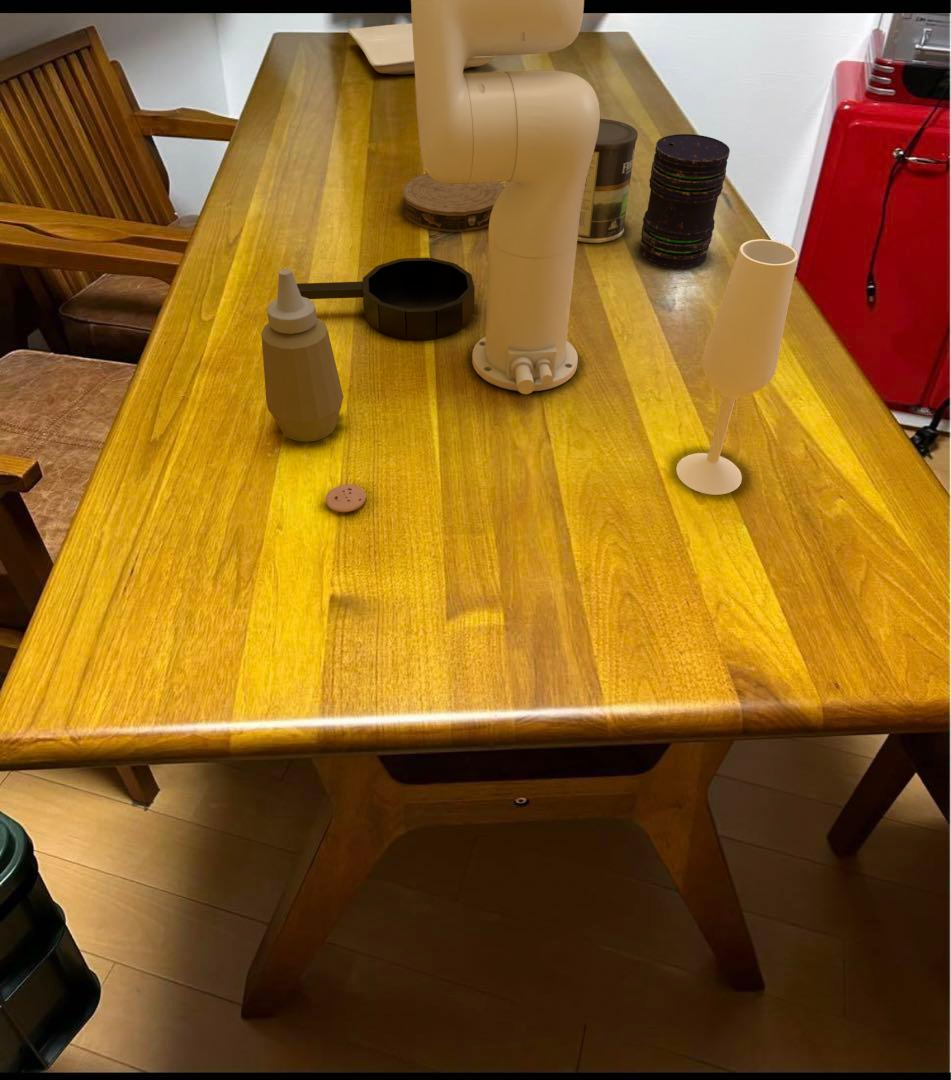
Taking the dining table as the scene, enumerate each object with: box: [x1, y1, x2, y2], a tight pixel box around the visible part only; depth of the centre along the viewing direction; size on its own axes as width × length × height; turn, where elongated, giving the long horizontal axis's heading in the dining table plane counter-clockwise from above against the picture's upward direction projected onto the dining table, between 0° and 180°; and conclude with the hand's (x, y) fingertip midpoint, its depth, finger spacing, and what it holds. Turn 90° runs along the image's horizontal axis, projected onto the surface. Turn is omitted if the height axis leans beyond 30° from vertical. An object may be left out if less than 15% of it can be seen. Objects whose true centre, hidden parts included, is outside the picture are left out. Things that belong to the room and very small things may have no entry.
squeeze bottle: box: [260, 268, 344, 443], centre depth 85 cm, size 8×8×18 cm
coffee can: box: [577, 118, 639, 244], centre depth 123 cm, size 10×10×14 cm
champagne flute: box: [675, 238, 799, 496], centre depth 79 cm, size 7×7×24 cm
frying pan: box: [296, 257, 475, 341], centre depth 108 cm, size 14×24×4 cm, turn 96°
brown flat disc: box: [402, 173, 505, 233], centre depth 131 cm, size 16×16×3 cm
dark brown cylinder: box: [638, 133, 731, 271], centre depth 117 cm, size 10×10×15 cm
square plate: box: [347, 22, 496, 76], centre depth 187 cm, size 27×27×4 cm
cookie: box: [325, 483, 367, 513], centre depth 83 cm, size 4×4×1 cm
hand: (447, 70), depth 129 cm, fingers closed
